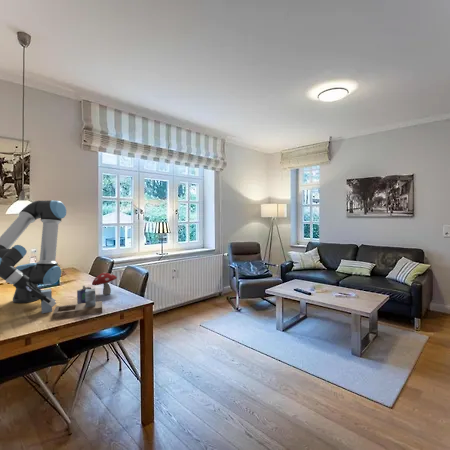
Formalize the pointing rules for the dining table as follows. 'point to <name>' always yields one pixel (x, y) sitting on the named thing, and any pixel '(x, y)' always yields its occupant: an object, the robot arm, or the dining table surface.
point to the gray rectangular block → (44, 305)
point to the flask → (81, 295)
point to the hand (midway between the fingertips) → (54, 303)
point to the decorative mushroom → (104, 281)
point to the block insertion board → (80, 307)
